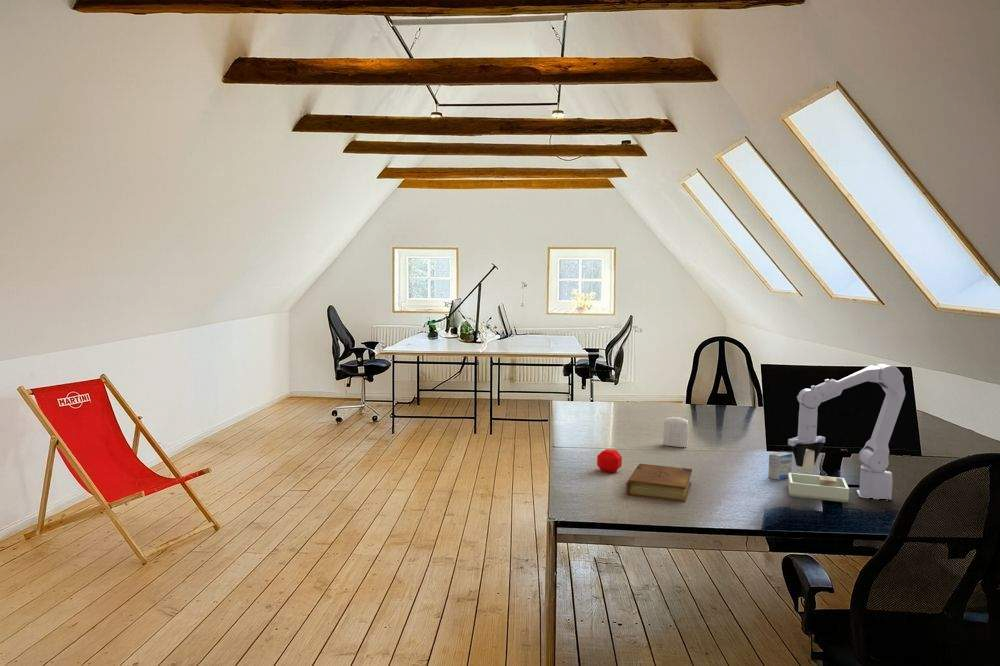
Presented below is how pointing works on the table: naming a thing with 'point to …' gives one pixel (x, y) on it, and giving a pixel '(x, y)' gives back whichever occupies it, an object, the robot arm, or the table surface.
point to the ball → (609, 460)
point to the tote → (816, 488)
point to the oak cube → (827, 481)
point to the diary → (659, 482)
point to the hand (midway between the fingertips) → (805, 465)
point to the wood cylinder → (807, 462)
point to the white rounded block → (676, 432)
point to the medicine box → (780, 465)
